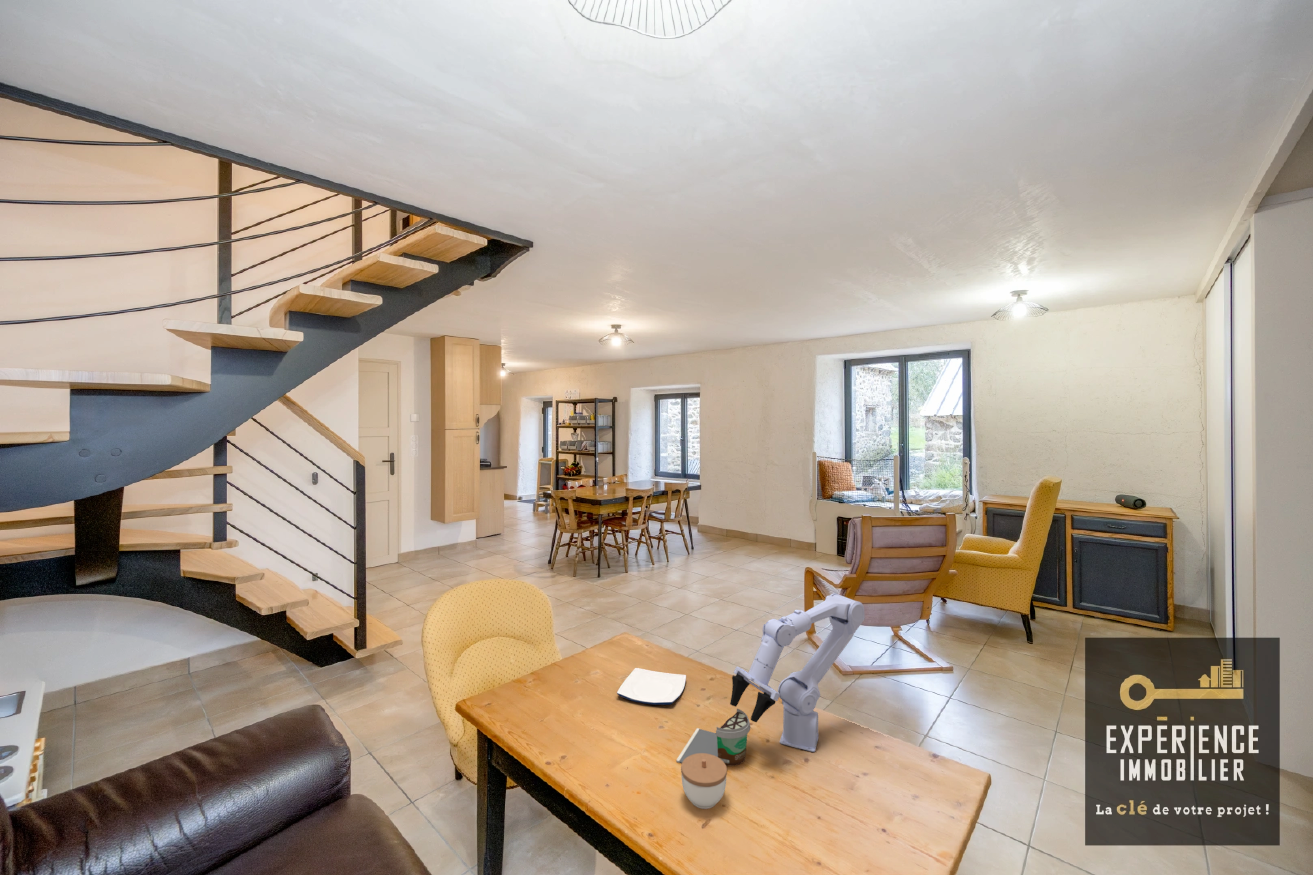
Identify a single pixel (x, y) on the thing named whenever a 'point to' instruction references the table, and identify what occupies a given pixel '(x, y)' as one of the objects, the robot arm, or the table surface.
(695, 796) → the lidded jar
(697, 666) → the table surface
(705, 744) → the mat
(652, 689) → the plate
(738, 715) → the food container
